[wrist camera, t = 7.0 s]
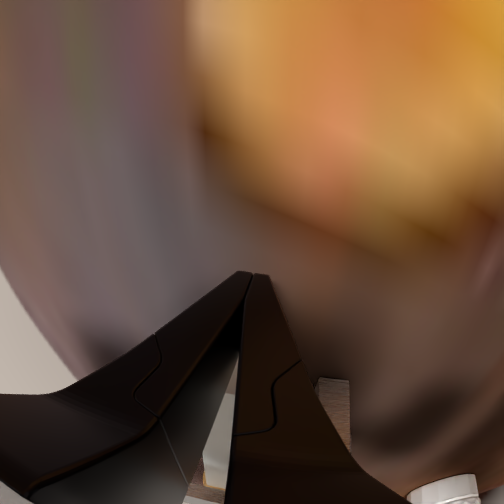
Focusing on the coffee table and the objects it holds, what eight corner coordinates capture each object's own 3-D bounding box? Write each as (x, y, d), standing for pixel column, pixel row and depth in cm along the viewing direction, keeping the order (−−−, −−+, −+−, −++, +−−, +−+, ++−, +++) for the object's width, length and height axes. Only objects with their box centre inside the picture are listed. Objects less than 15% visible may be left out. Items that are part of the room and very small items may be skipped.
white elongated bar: (203, 330, 11) (174, 403, 8) (292, 346, 11) (282, 425, 8) (210, 469, 20) (200, 505, 17) (252, 478, 19) (245, 514, 17)
